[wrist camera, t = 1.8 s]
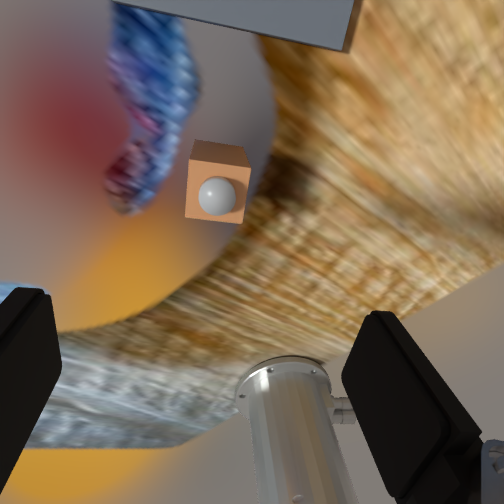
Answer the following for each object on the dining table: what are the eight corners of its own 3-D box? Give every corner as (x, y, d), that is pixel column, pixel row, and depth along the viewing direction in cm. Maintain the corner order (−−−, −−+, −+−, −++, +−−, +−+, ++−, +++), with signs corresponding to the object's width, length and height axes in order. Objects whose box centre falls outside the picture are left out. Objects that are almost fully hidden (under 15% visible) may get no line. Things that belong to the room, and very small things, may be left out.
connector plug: (242, 146, 27) (252, 172, 20) (236, 192, 29) (243, 229, 22) (194, 139, 26) (188, 163, 19) (191, 186, 28) (183, 223, 21)
